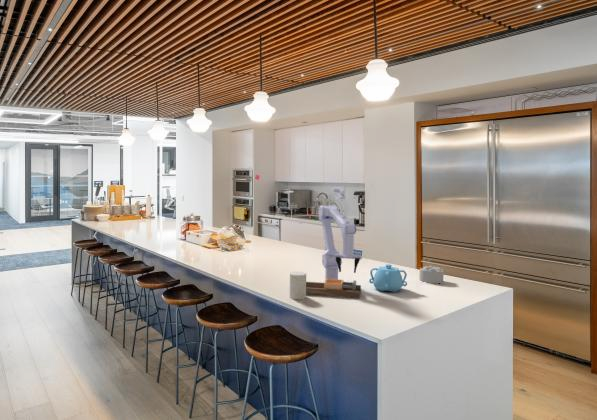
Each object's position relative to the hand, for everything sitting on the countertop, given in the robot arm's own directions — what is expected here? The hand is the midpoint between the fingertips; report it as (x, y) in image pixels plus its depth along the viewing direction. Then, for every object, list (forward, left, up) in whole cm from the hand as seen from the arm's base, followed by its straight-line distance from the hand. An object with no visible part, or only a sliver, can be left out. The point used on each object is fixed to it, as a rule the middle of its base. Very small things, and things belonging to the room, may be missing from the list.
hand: (347, 272), depth 221 cm
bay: (+4, -10, -10) cm, 15 cm away
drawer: (+4, -3, -9) cm, 11 cm away
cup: (+16, -23, -11) cm, 30 cm away
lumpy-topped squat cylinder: (-34, +46, -11) cm, 58 cm away
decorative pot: (-10, +21, -11) cm, 26 cm away
